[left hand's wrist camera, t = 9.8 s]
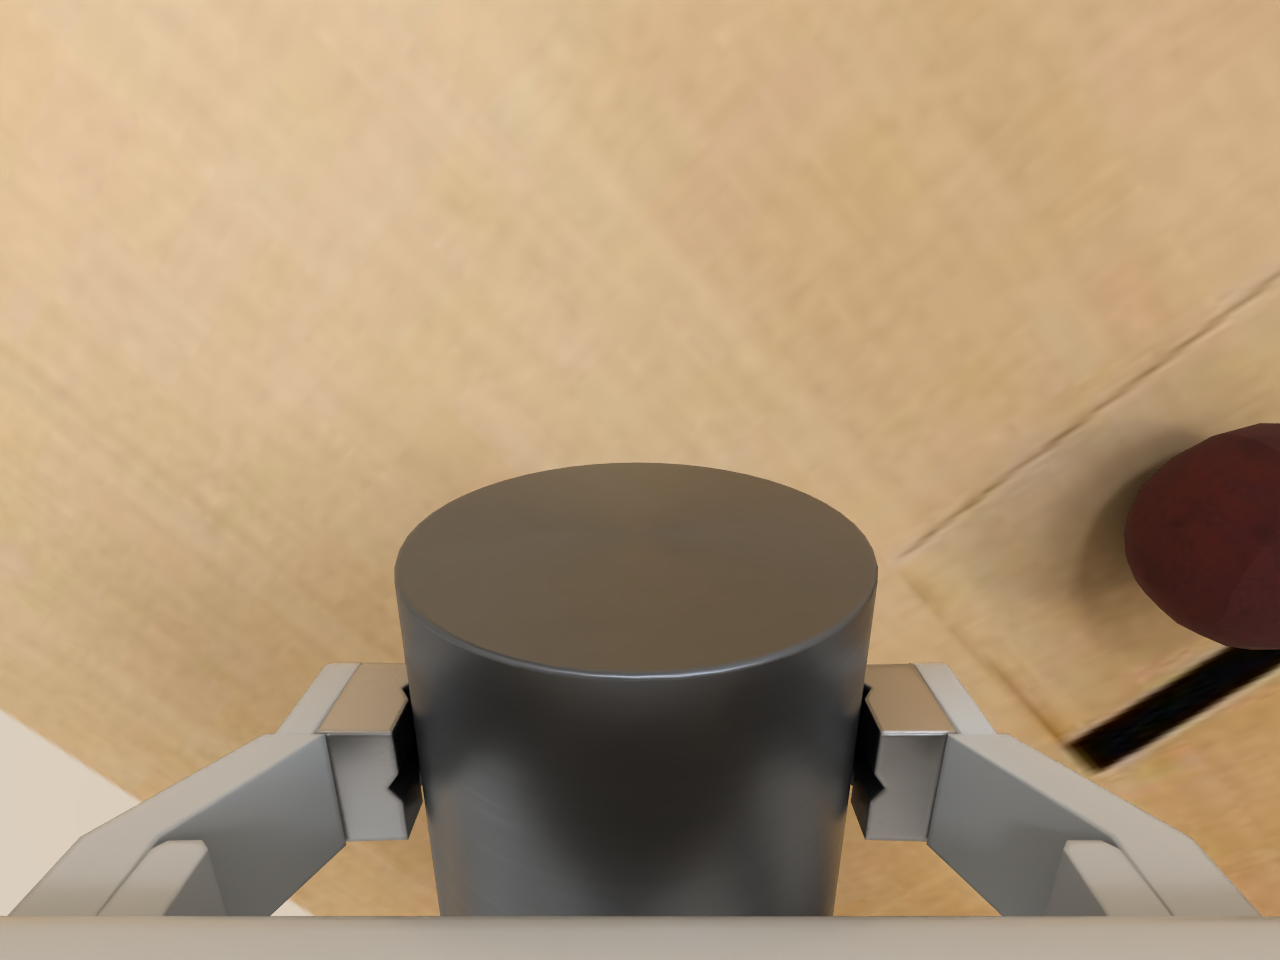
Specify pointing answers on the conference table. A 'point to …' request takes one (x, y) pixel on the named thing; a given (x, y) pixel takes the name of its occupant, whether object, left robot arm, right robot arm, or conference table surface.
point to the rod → (636, 692)
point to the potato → (1214, 538)
